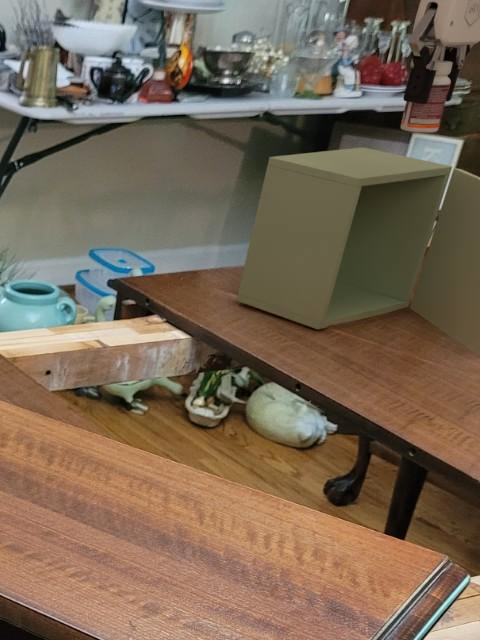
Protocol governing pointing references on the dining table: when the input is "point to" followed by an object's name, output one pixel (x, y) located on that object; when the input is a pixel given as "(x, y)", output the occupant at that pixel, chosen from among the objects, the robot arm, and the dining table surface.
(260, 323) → the dining table surface
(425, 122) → the pill bottle
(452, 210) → the cupboard door
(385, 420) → the dining table surface
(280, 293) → the cupboard
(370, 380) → the dining table surface
